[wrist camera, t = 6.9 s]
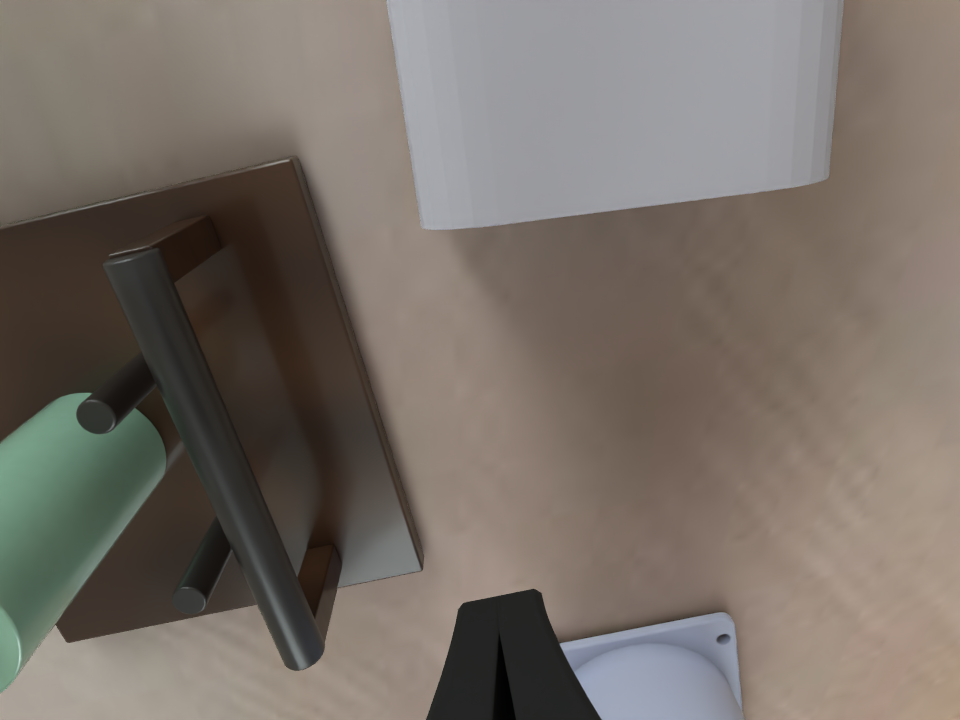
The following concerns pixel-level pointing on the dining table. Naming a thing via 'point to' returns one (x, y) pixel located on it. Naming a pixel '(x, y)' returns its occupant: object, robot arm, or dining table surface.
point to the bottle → (64, 514)
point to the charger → (610, 102)
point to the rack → (211, 400)
